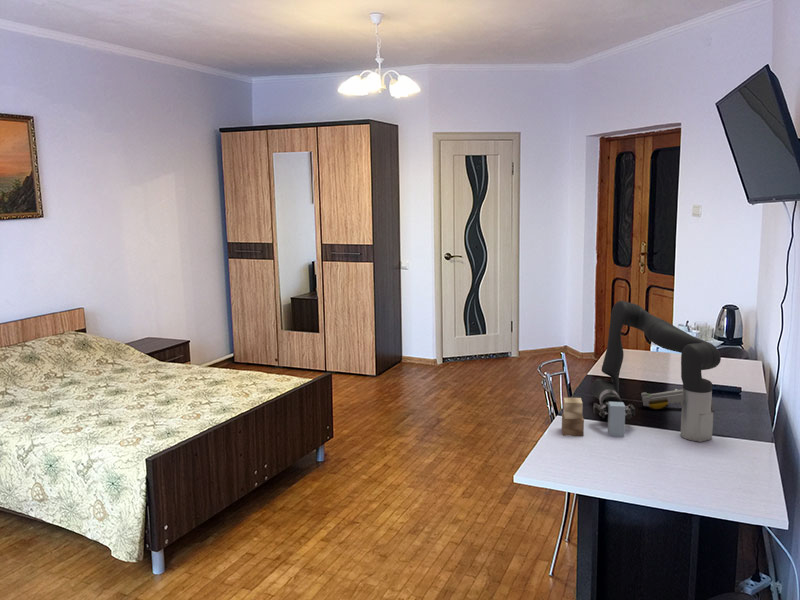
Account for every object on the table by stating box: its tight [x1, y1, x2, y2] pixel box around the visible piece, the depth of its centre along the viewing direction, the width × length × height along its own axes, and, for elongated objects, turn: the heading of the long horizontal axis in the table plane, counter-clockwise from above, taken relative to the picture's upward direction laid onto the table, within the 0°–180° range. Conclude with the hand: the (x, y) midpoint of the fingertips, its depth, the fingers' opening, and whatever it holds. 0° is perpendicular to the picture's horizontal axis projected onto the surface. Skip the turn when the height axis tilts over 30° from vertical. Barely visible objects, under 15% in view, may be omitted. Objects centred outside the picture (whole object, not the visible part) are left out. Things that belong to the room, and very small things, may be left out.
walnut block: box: [561, 412, 585, 437], centre depth 236 cm, size 7×7×6 cm
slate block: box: [607, 401, 626, 438], centre depth 233 cm, size 5×5×11 cm
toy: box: [640, 388, 715, 412], centre depth 258 cm, size 6×25×11 cm, turn 79°
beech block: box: [562, 397, 584, 420], centre depth 235 cm, size 6×6×6 cm
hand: (616, 415), depth 233 cm, fingers open, 8 cm apart
